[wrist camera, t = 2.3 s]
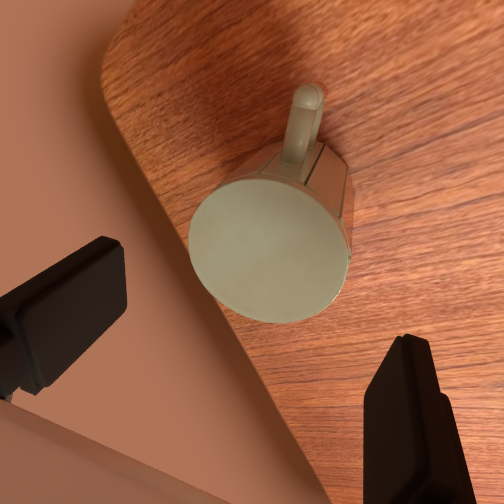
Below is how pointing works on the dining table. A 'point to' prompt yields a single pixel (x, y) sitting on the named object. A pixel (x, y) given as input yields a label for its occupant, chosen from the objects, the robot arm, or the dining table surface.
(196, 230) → the cup
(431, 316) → the dining table surface
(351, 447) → the dining table surface
